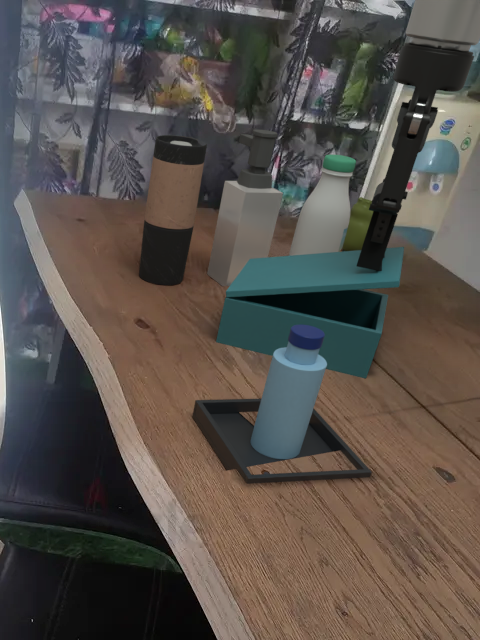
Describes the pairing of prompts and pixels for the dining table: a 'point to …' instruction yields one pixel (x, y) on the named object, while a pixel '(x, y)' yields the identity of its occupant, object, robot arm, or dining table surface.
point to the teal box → (314, 310)
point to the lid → (317, 272)
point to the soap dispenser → (246, 212)
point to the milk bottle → (325, 210)
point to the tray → (237, 453)
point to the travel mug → (171, 208)
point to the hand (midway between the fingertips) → (370, 259)
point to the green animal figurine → (358, 225)
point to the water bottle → (290, 394)
